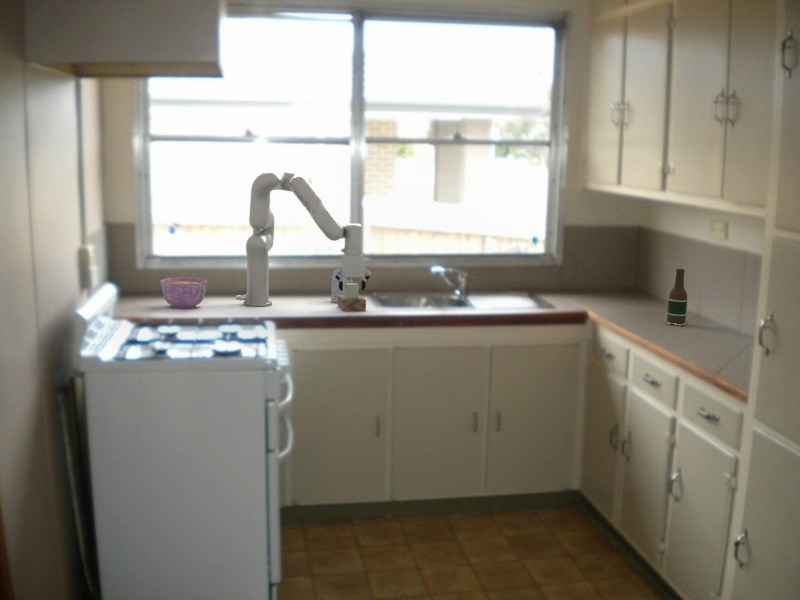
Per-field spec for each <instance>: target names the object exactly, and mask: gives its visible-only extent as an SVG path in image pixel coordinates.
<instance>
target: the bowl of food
mask: <svg viewBox="0 0 800 600" xmlns="http://www.w3.org/2000/svg"><path fill="white" fill-rule="evenodd" d="M159 282H160V287H161V290H162V294H163V298H164V300H165V302H166V303H167V304H169V305H170V306H172V307H174V308H175V309H182V310H185V309H194V308H195V306H197V305H199V304H201V303H202V302H203V300H204V298H205V295H206V291H207V285H208V283H209V281H208V280H207V279H205V278H201V277H189V276H188V277H186V276H185V277H178V276H177V277H169V278H163V279H161V280H160V281H159Z"/></svg>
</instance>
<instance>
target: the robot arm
mask: <svg viewBox="0 0 800 600" xmlns="http://www.w3.org/2000/svg"><path fill="white" fill-rule="evenodd" d="M276 190H277V191H278V190H279V191H285V192H290V193H291V192H292V194H293V195H294V196H295V197H296V198H297V200H299V202H300V203H301V204H302V206H303V207H304V208H305V209H306V210H307V212H308V213H309V215H310V217H311V218H312V219H313V221H314V223H315V224H316V226H317V227H318V228H319V229H320V231H321V232H322V233H323V234H324V236H325V237H326V238H327V239H329V240H330V241H335V242H336V241H338V240H340V239H344V247H343V248H341V249H340V252H341V253H343V254H342V257H341V258H342V259H341V265H340V267H339V268H337V269H335V270H333V271H332V274H333V275H334V276H335V277H336V278H337V280H338V281H339V289H340V290H341V291H342V290H343V282H342V280H343V279H344V278H353V279H358V278H359V279H362V280H361V283H360V285H361V288H360V290H361V291H365V289H366V282H367V281H368V280H369V279H370V278H371V276H372V274H373V271H371V270H369V269H368V268H366V266H365V257H364V254H362V248H363V247H362V246H363V244H362V243H363V242H362V241H363V226H362V224H361V223H356V222H355V223H354V222H352V223H351V222H349V223H346V222H341V221H336V219H335V218H334V217H333V215H331V213H330V211H329V210H328V208H327V205H326V202H325V200H324V198H323V197H322V196H321V194H320V193H319V192H318V191H317V190H316V188H315V187H314V186H313V184H312V179H311V178H310V177H309V176H308V175H306V174H305V173H296V172H291V171H284V170H277V169H276V170H267V171H264V172H262V173H260V174H259V175H258V176H256V178H255V179H254V181H253V183H252V185H251V189H250V200H249V201H250V202H249V217H248V220H249V221H248V222H249V225H250V227H251V228H252V234H251V235H250V236H249V237H248V239H247V240H246V244H245V252H246V293H245V294H243V295H236V300H238V301H242V302H243V305H245V306H249V307H267V306H271V305H272V304H273V301H272V300H269V292H270V291H269V290H270V289H269V286H270V284H269V283H270V282H269V275H270V274H269V272H270V269H269V267H270V265H269V264H270V261H269V252H270V250H271V249H272V248H273V245H274V238H275V237H274V236H275V235H274V234H275V216H274V213H273V212H272V210H270V208H271V207H270V205H271V192H273V191H276ZM340 271H341V272H340ZM338 272H339V273H341V276H340V277H339V276H338ZM365 273H367V274H366V275H365Z"/></svg>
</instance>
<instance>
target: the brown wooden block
mask: <svg viewBox="0 0 800 600" xmlns="http://www.w3.org/2000/svg"><path fill="white" fill-rule="evenodd" d="M337 308H339V309H340V310H341V311H342V312H366V311H367V300H366V299H365V298H364V297H363V296H362V295H360V294H359V295H358V298H355V299H347V298H346V297H345V295H338V302H337Z"/></svg>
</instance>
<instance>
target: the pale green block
mask: <svg viewBox="0 0 800 600" xmlns="http://www.w3.org/2000/svg"><path fill="white" fill-rule="evenodd" d="M359 289H360V287H359V284H358V283H355V282H354V283H345V297H346V298H347V299H355V298H358V295H360V294H359V293H360V291H359Z"/></svg>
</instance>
